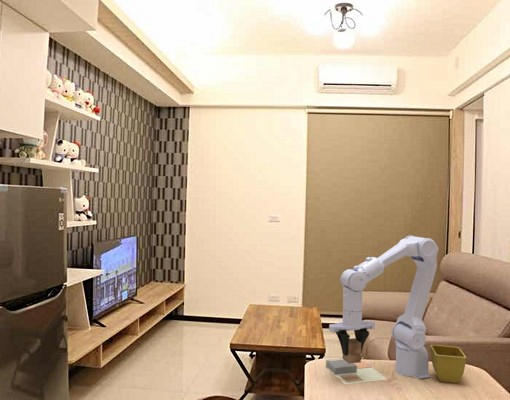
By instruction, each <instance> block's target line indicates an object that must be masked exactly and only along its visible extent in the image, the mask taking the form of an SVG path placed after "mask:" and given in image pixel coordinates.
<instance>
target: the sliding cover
mask: <svg viewBox="0 0 510 400" xmlns="http://www.w3.org/2000/svg"><path fill="white" fill-rule="evenodd" d="M325 363H326V364H325V365H326V366H325V368H326V367H327V368H329V369H330V370H331V371H332V372H333V373H334V374H335V375H336V374H345V373H354V372H357V366H356V365H355V364H354V363H351V364H349V363H347V362H346V361H345V360H344V359H343V358H337V359H336V358H335V359H326V361H325ZM327 368H326V369H327ZM330 370H329V371H330ZM331 371H330V372H331ZM332 372H331V373H332ZM333 373H332V374H333ZM334 374H333V375H334ZM335 375H334V376H335Z"/></svg>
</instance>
